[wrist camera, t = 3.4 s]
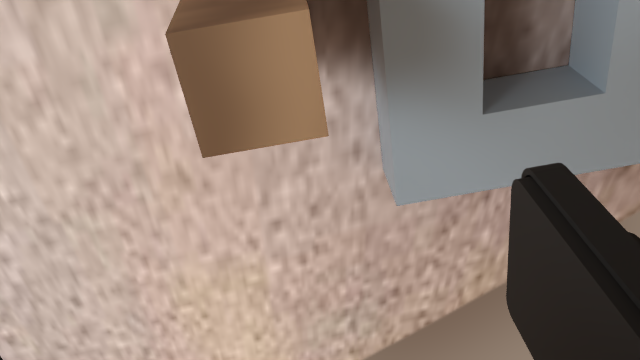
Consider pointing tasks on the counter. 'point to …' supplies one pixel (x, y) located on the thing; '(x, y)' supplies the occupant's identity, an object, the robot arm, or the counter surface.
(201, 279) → the counter surface
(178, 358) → the counter surface
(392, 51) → the socket block
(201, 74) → the square bit
